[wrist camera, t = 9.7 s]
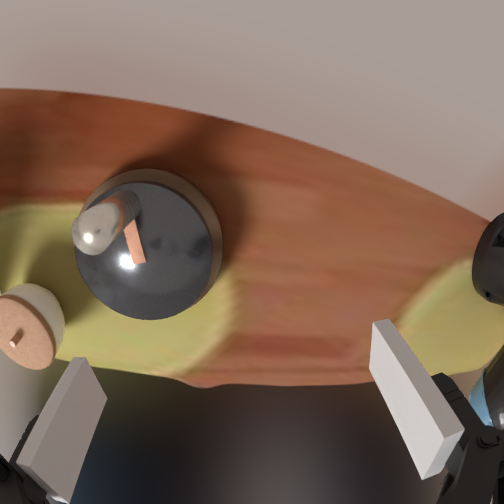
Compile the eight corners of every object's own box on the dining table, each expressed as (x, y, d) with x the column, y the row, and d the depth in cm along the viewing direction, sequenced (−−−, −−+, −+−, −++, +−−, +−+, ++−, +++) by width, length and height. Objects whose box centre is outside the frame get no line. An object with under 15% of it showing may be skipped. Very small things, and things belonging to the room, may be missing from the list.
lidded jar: (69, 274, 36) (35, 312, 27) (82, 342, 40) (58, 385, 31) (8, 267, 35) (-29, 299, 26) (24, 331, 38) (-4, 368, 30)
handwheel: (225, 300, 36) (225, 364, 26) (105, 317, 36) (74, 376, 25) (198, 166, 30) (183, 184, 20) (66, 198, 30) (10, 228, 20)
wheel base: (231, 301, 39) (231, 309, 37) (102, 312, 38) (98, 320, 36) (213, 157, 32) (212, 159, 30) (69, 182, 32) (61, 185, 30)
